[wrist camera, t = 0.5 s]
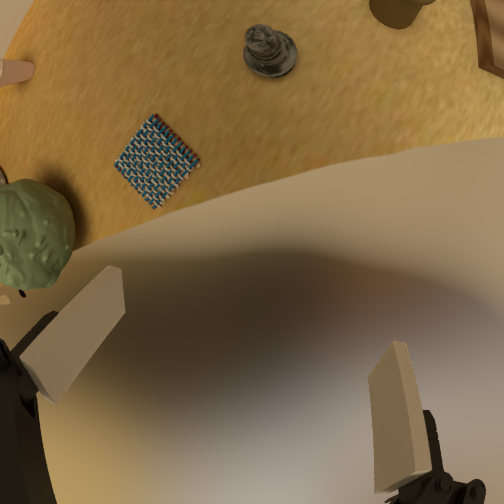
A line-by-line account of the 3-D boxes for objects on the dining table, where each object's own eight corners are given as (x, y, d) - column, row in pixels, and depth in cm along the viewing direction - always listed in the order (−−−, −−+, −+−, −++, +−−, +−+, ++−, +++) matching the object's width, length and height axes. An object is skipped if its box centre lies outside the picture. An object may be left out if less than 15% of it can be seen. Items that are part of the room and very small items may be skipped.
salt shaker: (277, 29, 27) (262, -7, 16) (308, 62, 28) (308, 38, 18) (239, 55, 29) (208, 31, 19) (269, 89, 31) (251, 77, 20)
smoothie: (42, 60, 31) (-18, 64, 19) (30, 91, 34) (-29, 101, 22) (28, 52, 31) (-28, 55, 18) (17, 81, 34) (-38, 89, 21)
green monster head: (65, 266, 51) (1, 322, 33) (27, 185, 44) (-48, 225, 26) (111, 246, 46) (34, 314, 28) (67, 149, 39) (-29, 185, 21)
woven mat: (116, 163, 39) (108, 165, 37) (156, 110, 35) (149, 110, 33) (160, 210, 42) (153, 215, 40) (206, 161, 37) (201, 164, 35)
